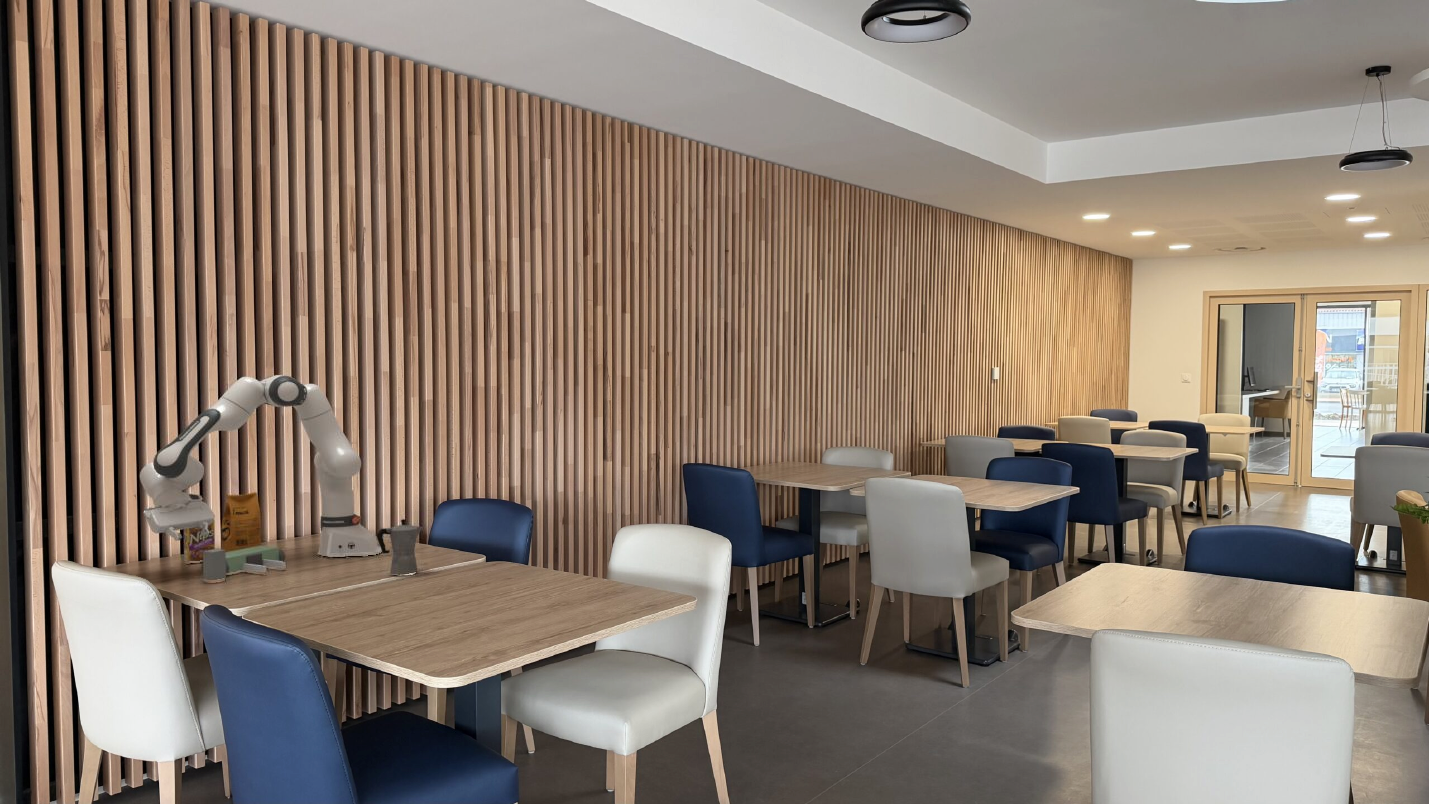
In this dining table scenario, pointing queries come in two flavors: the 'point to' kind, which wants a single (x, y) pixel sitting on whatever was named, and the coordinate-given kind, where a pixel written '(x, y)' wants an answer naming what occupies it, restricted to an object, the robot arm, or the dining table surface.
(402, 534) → the coffeepot
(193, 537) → the candy box
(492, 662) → the dining table surface
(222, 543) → the coffee package
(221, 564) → the grey upright pillar
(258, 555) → the mower deck
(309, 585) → the dining table surface
